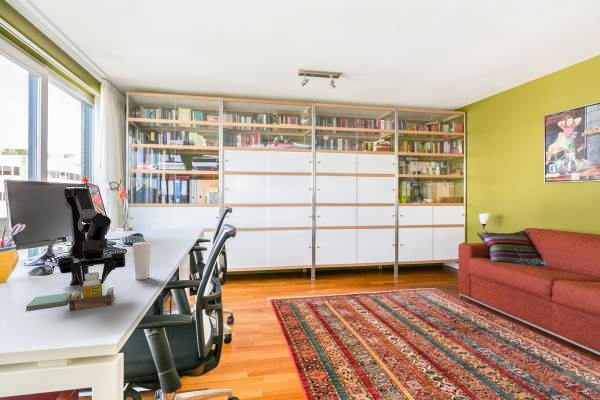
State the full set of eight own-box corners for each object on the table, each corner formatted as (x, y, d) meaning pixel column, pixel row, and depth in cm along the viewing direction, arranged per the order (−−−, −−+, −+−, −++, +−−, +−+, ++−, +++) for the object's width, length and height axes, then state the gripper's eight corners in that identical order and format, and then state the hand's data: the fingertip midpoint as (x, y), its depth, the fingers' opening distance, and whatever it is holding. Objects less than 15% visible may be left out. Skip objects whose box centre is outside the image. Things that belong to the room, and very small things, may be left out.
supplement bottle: (92, 306, 100) (92, 276, 100) (78, 305, 101) (77, 275, 101) (106, 300, 106) (105, 271, 105) (92, 300, 107) (92, 271, 107)
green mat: (35, 300, 107) (35, 297, 107) (71, 295, 112) (71, 292, 112) (26, 310, 98) (26, 306, 98) (65, 304, 103) (65, 300, 103)
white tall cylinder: (137, 276, 137) (136, 242, 137) (153, 276, 137) (152, 241, 137) (130, 280, 130) (129, 244, 130) (147, 280, 131) (146, 244, 130)
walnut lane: (75, 301, 106) (75, 292, 106) (113, 295, 111) (113, 287, 111) (69, 311, 97) (69, 301, 97) (111, 305, 102) (110, 295, 102)
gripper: (58, 232, 102) (50, 274, 93) (124, 229, 111) (123, 266, 101) (64, 253, 110) (57, 293, 100) (125, 248, 118) (125, 285, 108)
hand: (91, 284), depth 102 cm, fingers closed on supplement bottle, 5 cm apart
